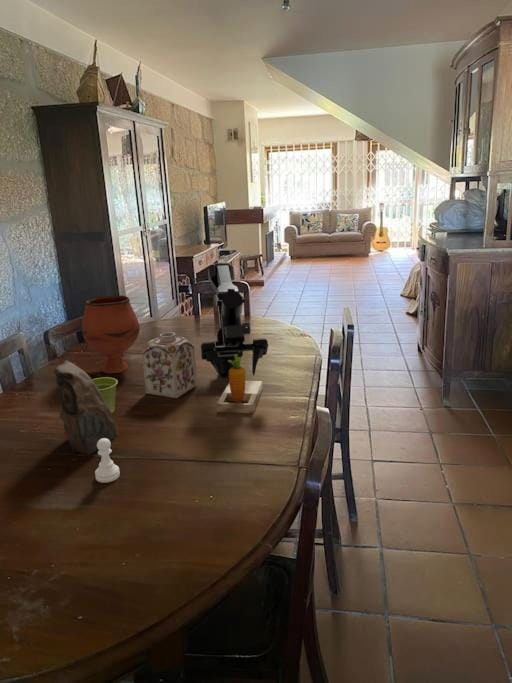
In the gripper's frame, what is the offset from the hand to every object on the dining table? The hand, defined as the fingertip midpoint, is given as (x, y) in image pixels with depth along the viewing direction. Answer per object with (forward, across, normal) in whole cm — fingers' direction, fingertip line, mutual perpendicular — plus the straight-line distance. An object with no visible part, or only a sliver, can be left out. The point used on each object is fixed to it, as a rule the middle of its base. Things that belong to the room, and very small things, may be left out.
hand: (237, 376), depth 139 cm
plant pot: (+3, -38, +10) cm, 39 cm away
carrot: (+6, 0, +8) cm, 10 cm away
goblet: (-23, -39, +37) cm, 58 cm away
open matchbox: (+3, +1, +11) cm, 11 cm away
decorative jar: (-6, -19, +20) cm, 28 cm away
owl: (+16, -38, -2) cm, 41 cm away
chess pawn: (+28, -32, -14) cm, 45 cm away
